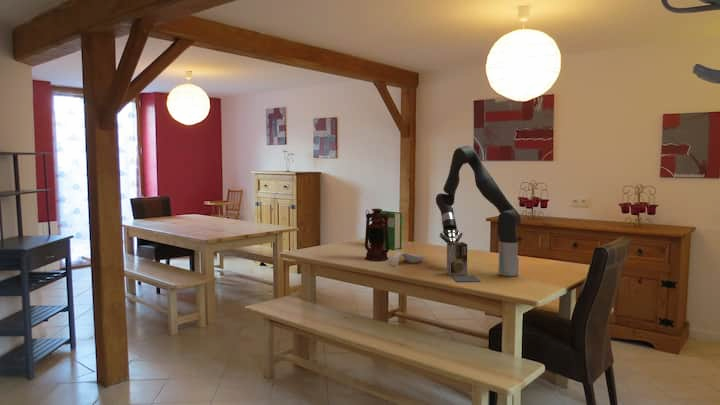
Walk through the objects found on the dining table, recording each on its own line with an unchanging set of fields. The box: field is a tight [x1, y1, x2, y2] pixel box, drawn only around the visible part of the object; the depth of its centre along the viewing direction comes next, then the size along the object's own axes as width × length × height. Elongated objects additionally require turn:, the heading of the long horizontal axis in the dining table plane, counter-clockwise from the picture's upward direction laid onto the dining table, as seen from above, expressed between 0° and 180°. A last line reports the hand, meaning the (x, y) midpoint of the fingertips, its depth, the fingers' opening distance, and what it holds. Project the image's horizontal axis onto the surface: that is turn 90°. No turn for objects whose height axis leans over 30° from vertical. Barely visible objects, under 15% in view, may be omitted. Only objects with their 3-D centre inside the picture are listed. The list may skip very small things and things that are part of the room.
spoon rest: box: [390, 251, 425, 268], centre depth 285 cm, size 24×12×7 cm, turn 137°
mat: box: [450, 274, 482, 283], centre depth 248 cm, size 12×12×1 cm
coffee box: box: [446, 241, 468, 276], centre depth 258 cm, size 9×6×16 cm
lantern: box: [364, 208, 390, 262], centre depth 295 cm, size 17×14×30 cm
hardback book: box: [380, 210, 403, 251], centre depth 332 cm, size 18×7×24 cm, turn 44°
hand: (453, 248), depth 266 cm, fingers closed
